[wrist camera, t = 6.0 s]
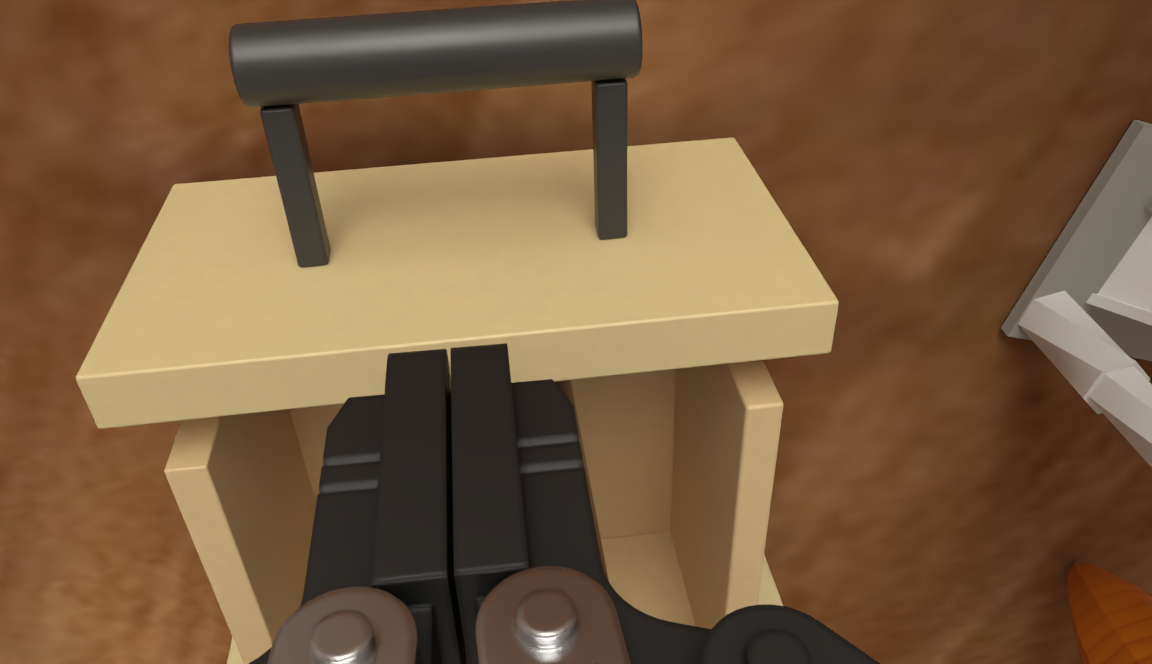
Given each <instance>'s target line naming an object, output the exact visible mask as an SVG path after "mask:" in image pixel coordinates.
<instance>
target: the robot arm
mask: <svg viewBox="0 0 1152 664" xmlns="http://www.w3.org/2000/svg"><path fill="white" fill-rule="evenodd" d="M249 664H880V663H878V662H877V661H875V660H874V659H873V658H871V657H870V656H868V655H867V654H865V653H864V652H862V651H861V650H860V649H858V648H857V647H855V646H854V645H852V644H851V643H849V642H848V641H847V640H845V639H844V638H842V637H841V636H839V635H838V634H836V633H835V632H834V631H832V630H831V629H829V628H828V627H826V626H825V625H823V624H822V623H821V622H819V621H818V620H816V619H814V618H813V617H811V616H809V615H807V614H805V613H803V612H800V611H798V610H796V609H792V608H788V607H785V606H779V605H771V604H767V605H753V606H747V607H744V608H741V609H738V610H735V611H733V612H731V613H730V614H728V615H726V616H725V617H723V618H722V619H721V620H720V621H718V622H717V623H716V625H715V626H714V627H713V628H712V629H707V628H702V627H696V626H691V625H685V624H680V623H675V622H670V621H666V620H662V619H658V618H655V617H653V616H650V615H647V614H645V613H643V612H641V611H640V610H638V609H636V608H634V607H633V606H631V605H630V604H629V603H627V602H626V601H625V600H624V599H623V598H622V597H621V596H620V595H619V594H618V593H617V592H616V591H615V590H614V589H613V587H612V586H611V584H610V583H609V581H608V579H607V577H606V575H605V573H604V570H603V567H602V563H601V558H600V552H599V547H598V541H597V535H596V530H595V524H594V518H593V513H592V507H591V502H590V496H589V490H588V485H587V479H586V473H585V468H584V464H583V457H582V451H581V445H580V442H579V434H578V428H577V423H576V417H575V411H574V406H573V404H572V403H571V401H570V400H569V399H568V398H567V397H566V395H565V394H564V393H563V392H562V391H561V389H560V388H559V387H558V386H557V384H556V383H555V382H554V381H553V380H552V379H548V380H537V381H526V382H515V383H511V376H510V365H509V355H508V345H507V343H502V344H491V345H479V346H468V347H456V348H451V375H450V367H449V360H448V354H447V350H446V349H436V350H424V351H412V352H401V353H389V354H388V357H387V367H386V381H385V394H384V395H373V396H361V397H350V398H348V399H347V401H346V402H345V403H344V405H343V406H342V408H341V409H340V411H339V412H338V413H337V415H336V416H335V418H334V419H333V420H332V422H331V423H330V425H329V426H328V427H327V433H326V440H325V447H324V454H323V467H322V468H321V475H320V482H319V494H318V496H317V503H316V509H315V516H314V523H313V530H312V537H311V544H310V551H309V558H308V565H307V572H306V579H305V585H304V592H303V597H302V602H301V606H300V608H299V609H297V610H296V611H295V612H294V613H293V614H292V615H291V616H290V617H289V618H288V619H287V620H286V622H285V623H284V624H283V625H282V627H281V628H280V630H279V632H278V633H277V635H276V637H275V639H274V642H273V645H272V647H271V648H270V649H269V650H267V651H266V652H265V653H264V654H262V655H261V656H260V657H258V658H257V659H255V660H253V661H252V662H250V663H249Z"/></svg>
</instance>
